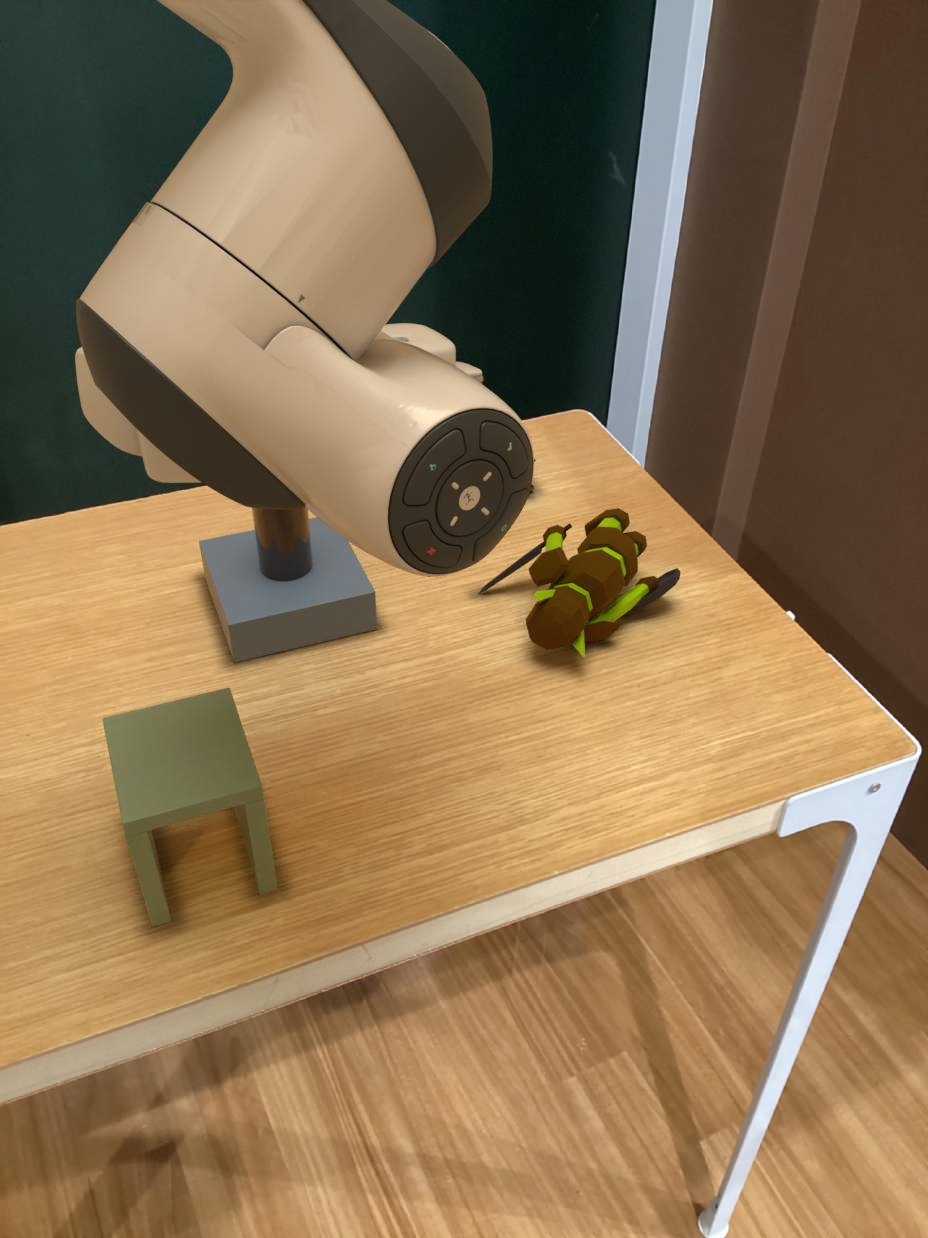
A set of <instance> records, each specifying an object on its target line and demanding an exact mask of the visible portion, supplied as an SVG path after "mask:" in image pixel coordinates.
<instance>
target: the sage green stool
mask: <svg viewBox="0 0 928 1238" xmlns="http://www.w3.org/2000/svg"><path fill="white" fill-rule="evenodd" d="M102 725H103V730H104V736H105V740H106V745H107V746H106V747H107V751H108V756H109V761H110V767H111V773H112V777H113V782H114V788H115V792H116V800H117V803H118V808H119V809H118V810H119V815H120V818H121V824H122V829H123V831H124V835H125V838H126V842H127V845H128V849H129V852H130V856H131V859H132V862H133V866H134V869H135V873H136V876H137V880H138V883H139V886H140V890H141V894H142V897H143V900H144V904H145V908H146V911H147V914H148V917H149V922H150V925H151V927H152V928H154V927H157V926H160V925H164V924H167V923H171V921H172V917H171V913H170V908H169V904H168V899H167V894H166V890H165V884H164V880H163V879H164V878H163V875H162V871H161V866H160V863H159V862H160V861H159V857H158V853H157V847H156V843H155V838H154V833H153V830H156V829H159V828H163V827H166V826H170V825H174V824H178V823H181V822H185V821H189V820H191V819H195V818H199V817H202V816H206V815H210V814H214V813H217V812H220V811H225V810H228V809H232V808H233V809H234V813H235V816H236V819H237V822H238V826H239V830H240V832H241V836H242V840H243V842H244V846H245V850H246V853H247V856H248V859H249V862H250V866H251V869H252V874H253V876H254V880H255V883H256V887H257V890H258V893H259V894H260V895H263V894H266V893H270V892H273V891H277V890H278V888H279V887H278V880H277V873H276V867H275V861H274V853H273V848H272V841H271V835H270V829H269V821H268V816H267V809H266V802H265V797H264V789H263V784H262V781H261V778H260V775H259V772H258V769H257V766H256V763H255V760H254V757H253V754H252V751H251V747H250V745H249V742H248V739H247V736H246V733H245V728H244V726H243V723H242V720H241V717H240V714H239V711H238V708H237V705H236V701H235V699H234V695H233V693H232V690H231V688H230V687H224V688H221V689H216V690H212V691H209V692H204V693H200V694H196V695H192V696H188V697H183V698H179V699H175V700H172V701H167V702H163V703H159V704H155V705H150V706H146V707H142V708H137V709H134V710H129V711H126V712H125V711H124V712H122V713H117V714H113V715H109V716H105V717H103V718H102Z"/></svg>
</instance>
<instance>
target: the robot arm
mask: <svg viewBox="0 0 928 1238" xmlns="http://www.w3.org/2000/svg"><path fill="white" fill-rule="evenodd" d="M156 1H157V2H158V3H160V4H161V5H163V6H164V7H166V8H167V9H169V10H170V11H171V12H172V13H174V14H175V15H176V16H178V17H180V18H181V20H184V22H186V23H188V24H189V25H191V26H192V27H194V28H195V29H196V30H197V31H199V32H200V33H202V34H203V35H204V36H206V37H207V38H209V39H210V40H211V41H213V42H214V43H216V44H217V45H218V46H220V47H221V48H222V49H223V50H224V51H225V53H226V54H227V56H228V58H229V60H230V63H231V66H232V78H231V79H232V80H231V84H230V87H229V89H228V91H227V93H226V95H225V98H224V99H223V100H222V102H221V103H220V105H219V106H218V108H217V109H216V110H215V112H214V113H213V114H212V116H211V117H210V118H209V120H208V121H207V123H206V124H205V126H204V127H203V128H202V130H201V131H200V132H199V134H198V135H197V137H196V138H195V140H193V142H192V144H191V145H190V146H189V147H188V148H187V150H186V152H185V153H184V154H183V156H182V158H181V159H180V160H179V161H178V162H177V164H176V166H175V167H174V168H173V170H172V171H171V173H170V174H169V175H168V177H167V178H166V180H165V181H164V182H163V183H162V185H161V187H160V188H159V189H158V191H157V192H156V193H155V195H154V196H153V198H152V199H151V200H150V201H146V202H145V204H143V206H142V208H141V209H140V210H139V212H138V213H137V214H136V216H135V218H134V219H133V220H132V221H131V223H130V224H129V226H128V227H127V229H126V230H125V231H124V233H123V234H122V235H121V237H120V238H119V240H118V241H117V242H116V244H115V245H114V246H113V248H112V250H111V251H110V252H109V254H108V256H107V257H106V258H105V259H104V261H103V262H102V264H101V265H100V267H99V268H98V270H97V271H96V272H95V274H94V275H93V277H92V278H91V280H90V281H89V283H88V284H87V286H86V288H85V289H84V290H83V292H82V293H81V295H80V297H79V298H77V299H76V305H75V306H76V307H75V311H76V312H75V313H76V327H77V331H78V332H77V333H78V337H79V342H80V345H81V347H79V348H78V349H76V352H75V353H74V354H75V356H74V361H75V372H76V373H75V375H76V383H77V388H78V389H77V390H78V395H79V401H80V407H81V410H82V413H83V415H84V417H85V419H86V420H87V421H88V423H89V424H90V425H91V427H93V428H94V430H95V431H96V432H97V433H98V434H100V435H101V437H103V438H104V439H105V440H106V441H108V442H109V444H111V445H113V446H114V447H115V448H116V449H119V451H120V450H121V451H122V452H125V453H127V454H131V455H134V456H139V457H142V462H143V465H144V469H145V472H146V475H147V476H148V477H149V478H150V479H151V480H153V481H155V482H157V483H165V484H204V485H205V486H207V487H208V488H210V489H211V490H213V491H214V492H216V493H217V494H220V495H222V496H223V497H225V498H227V499H229V500H230V501H233V502H235V503H237V504H239V505H241V506H243V507H247V508H251V509H252V508H263V509H277V510H287V509H298V508H303V507H307V508H308V512H310V513H311V514H313V516H314V517H317V518H318V519H319V520H320V521H322V522H323V523H324V524H325V525H327V526H328V527H329V528H331V529H332V530H333V531H335V532H336V533H337V534H338V535H340V536H341V537H343V538H344V539H346V540H347V541H348V542H349V543H350V544H352V545H353V546H354V547H357V548H358V549H360V550H362V551H363V552H364V553H366V554H367V555H370V556H371V557H373V558H376V559H378V560H380V561H382V562H383V563H386V564H387V565H390V566H391V567H394V568H396V569H399V570H401V571H404V572H407V573H409V574H412V575H416V576H421V577H427V578H429V577H431V578H438V577H446V576H450V575H453V574H456V573H459V572H462V571H464V570H466V569H469V568H470V567H473V566H474V565H476V564H477V563H479V562H481V561H482V560H483V559H484V558H486V557H487V556H488V555H490V553H491V552H492V551H493V550H495V548H496V547H497V545H498V544H499V543H500V542H501V541H502V540H503V538H504V537H505V536H506V535H507V533H508V532H509V531H510V529H511V528H512V526H513V525H514V524H515V522H516V521H517V519H518V517H519V516H520V515H521V513H522V511H523V509H524V508H525V505H526V503H527V501H528V498H529V496H530V493H531V490H530V489H531V484H532V485H533V478H534V472H535V462H534V459H535V453H534V447H533V443H532V438H531V435H530V433H529V430H528V428H527V427H526V425H525V423H524V422H523V420H522V419H521V418H520V416H519V415H518V414H517V413H516V412H515V411H514V409H513V408H511V407H510V406H509V405H508V404H507V403H506V402H505V401H504V400H503V399H501V398H500V397H499V396H498V395H497V394H495V393H494V392H493V391H492V390H490V389H489V388H487V387H486V386H485V385H484V384H483V382H484V375H483V371H482V370H481V369H480V368H478V367H476V366H473V365H471V364H469V363H465V362H462V361H457V354H456V353H457V350H456V345H455V344H454V342H452V341H451V340H450V339H449V338H448V337H446V336H444V335H443V334H442V333H441V332H438V331H436V330H435V329H432V328H431V327H428V326H426V325H423V324H419V323H418V324H417V323H411V322H410V323H409V322H408V323H407V322H400V323H388V322H389V320H390V319H391V318H392V316H393V315H394V313H396V311H397V310H398V308H399V307H400V305H402V303H403V302H404V300H405V299H406V297H407V296H408V295H409V293H410V292H411V290H412V289H413V288H414V286H415V285H416V284H417V283H418V281H419V280H420V278H421V277H423V274H424V273H425V272H426V270H427V269H428V268H432V267H433V266H434V265H436V263H438V261H439V260H440V259H441V258H442V257H443V256H444V255H445V253H446V252H448V250H449V249H450V248H451V246H452V245H453V244H454V243H455V242H456V241H457V240H458V239H459V238H460V236H461V235H462V234H463V233H464V232H465V231H466V230H467V229H468V227H469V226H471V224H472V223H473V222H474V221H475V219H477V217H478V216H479V215H480V214H481V213H482V212H483V211H484V209H485V208H486V207H487V206H488V205H489V203H490V201H491V197H492V184H493V165H494V164H493V162H494V161H493V154H494V153H493V137H492V126H491V118H490V110H489V105H488V102H487V101H488V100H487V96H486V94H485V91H484V89H483V88H482V85H481V83H480V82H479V81H478V79H477V78H476V77H475V75H474V74H473V73H472V71H471V70H470V69H469V68H468V66H467V65H466V64H465V63H464V62H463V61H462V60H461V59H460V58H459V57H458V56H457V55H456V54H455V53H454V52H453V51H452V49H450V48H449V47H448V45H446V44H445V43H444V42H443V41H442V40H441V39H439V38H438V37H437V36H436V35H435V34H433V33H432V32H431V31H429V30H428V29H426V28H425V27H424V26H422V25H421V24H420V23H418V22H417V21H416V20H415V19H413V18H412V17H410V16H409V15H408V14H406V13H405V12H403V11H402V10H401V9H399V8H398V7H397V6H395V5H393V4H392V3H391V2H389V1H388V0H156ZM387 323H388V324H387Z"/></svg>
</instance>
